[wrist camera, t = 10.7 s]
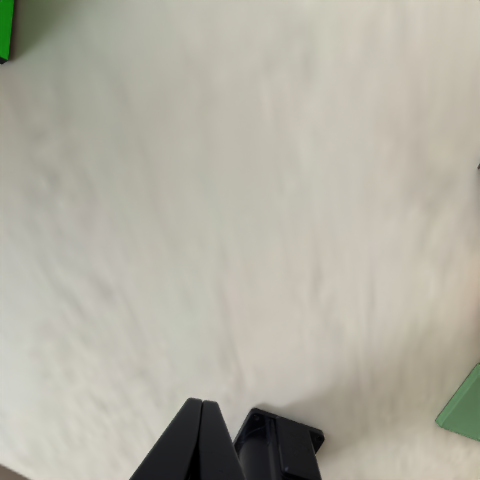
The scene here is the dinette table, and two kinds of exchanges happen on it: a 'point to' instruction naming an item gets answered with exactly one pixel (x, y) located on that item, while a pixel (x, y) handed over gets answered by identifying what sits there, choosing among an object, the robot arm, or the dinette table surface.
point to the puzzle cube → (5, 28)
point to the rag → (464, 408)
